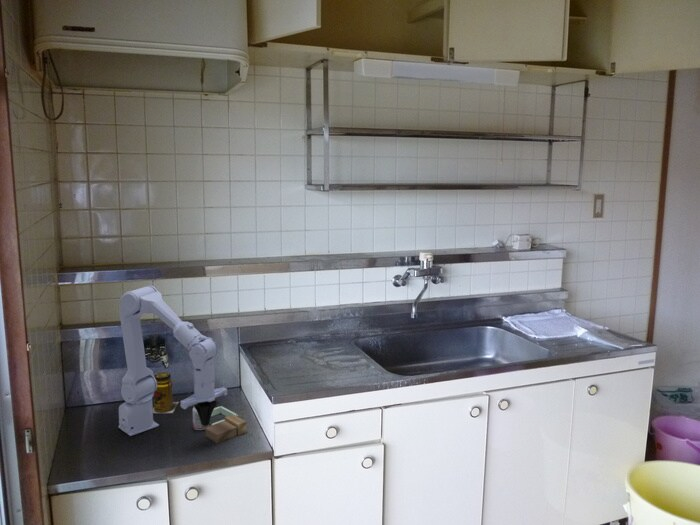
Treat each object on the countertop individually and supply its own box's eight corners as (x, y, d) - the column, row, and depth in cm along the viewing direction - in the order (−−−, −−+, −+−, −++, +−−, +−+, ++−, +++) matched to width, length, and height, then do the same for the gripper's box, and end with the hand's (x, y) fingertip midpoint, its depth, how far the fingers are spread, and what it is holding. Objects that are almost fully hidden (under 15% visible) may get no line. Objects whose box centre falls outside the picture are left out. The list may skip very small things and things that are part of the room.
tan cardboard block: (217, 444, 174) (216, 434, 173) (205, 437, 178) (205, 428, 177) (236, 436, 179) (236, 427, 178) (225, 429, 183) (224, 420, 182)
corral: (213, 430, 181) (212, 424, 181) (195, 420, 188) (195, 414, 187) (238, 421, 188) (238, 415, 188) (221, 411, 195) (221, 405, 194)
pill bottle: (194, 423, 186) (193, 398, 184) (209, 423, 186) (209, 398, 185) (191, 430, 181) (191, 405, 179) (207, 430, 181) (207, 404, 180)
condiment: (149, 413, 192) (148, 378, 190) (157, 402, 200) (155, 369, 198) (172, 413, 192) (171, 378, 190) (179, 402, 201) (177, 369, 198)
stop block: (238, 435, 179) (238, 424, 178) (224, 427, 183) (224, 417, 183) (246, 432, 181) (246, 421, 180) (232, 424, 186) (232, 414, 185)
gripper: (189, 391, 163) (190, 437, 166) (233, 377, 173) (233, 421, 176) (176, 384, 168) (177, 428, 170) (219, 371, 178) (219, 413, 181)
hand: (204, 424), depth 174 cm, fingers closed
